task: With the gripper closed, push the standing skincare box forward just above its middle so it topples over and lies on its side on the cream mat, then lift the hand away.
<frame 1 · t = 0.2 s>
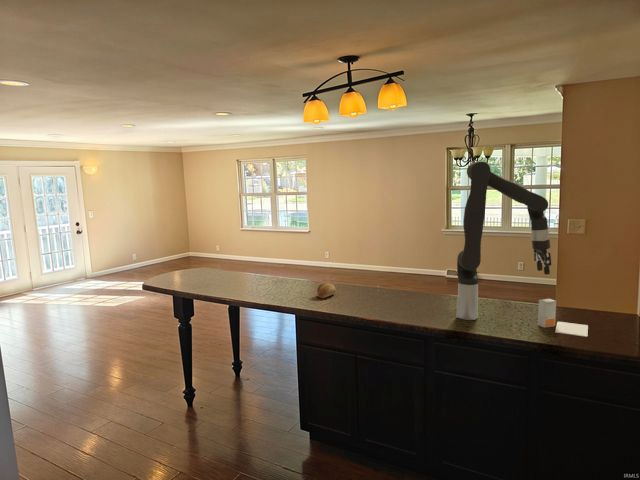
hand: (543, 272, 204), 22 cm above the countertop, tool pointing down, fingers open, 8 cm apart
bread roll: (326, 296, 257), on the countertop
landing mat: (571, 329, 190), on the countertop
skincare box: (546, 326, 196), on the countertop
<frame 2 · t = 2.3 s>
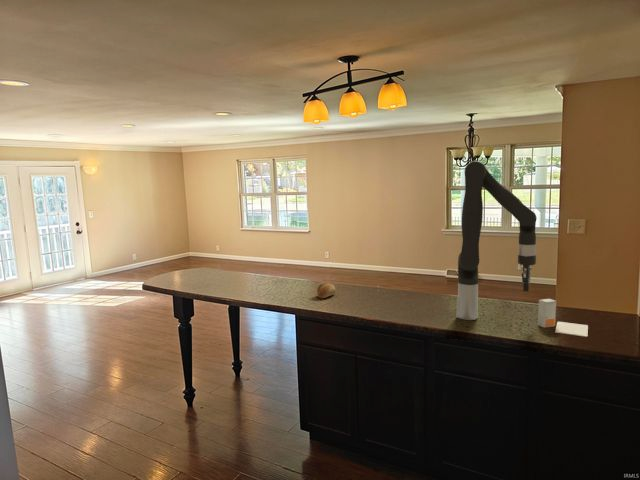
hand: (526, 290, 199), 15 cm above the countertop, tool pointing down, fingers closed
nothing on the countertop moved.
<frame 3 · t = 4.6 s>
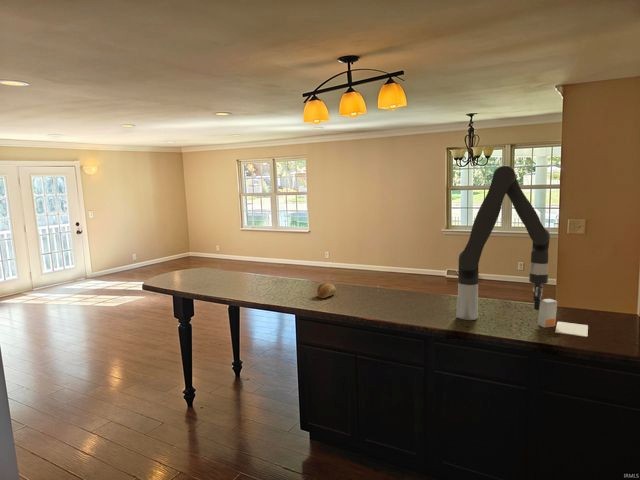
hand: (536, 309, 197), 7 cm above the countertop, tool pointing down, fingers closed
nothing on the countertop moved.
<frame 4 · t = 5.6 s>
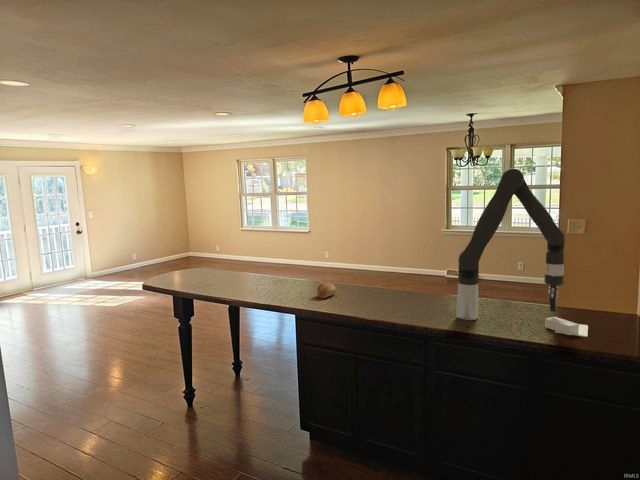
hand: (552, 311, 194), 7 cm above the countertop, tool pointing down, fingers closed
skincare box: (549, 321, 194), point 3 cm above the countertop, touching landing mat
everything else where it was.
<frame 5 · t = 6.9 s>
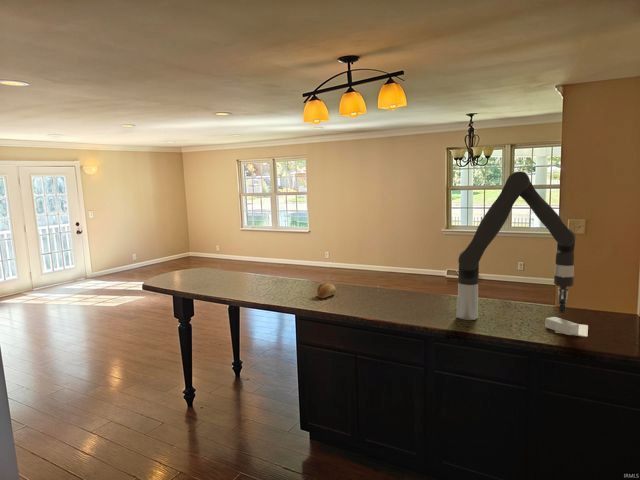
hand: (562, 312, 192), 7 cm above the countertop, tool pointing down, fingers closed
nothing on the countertop moved.
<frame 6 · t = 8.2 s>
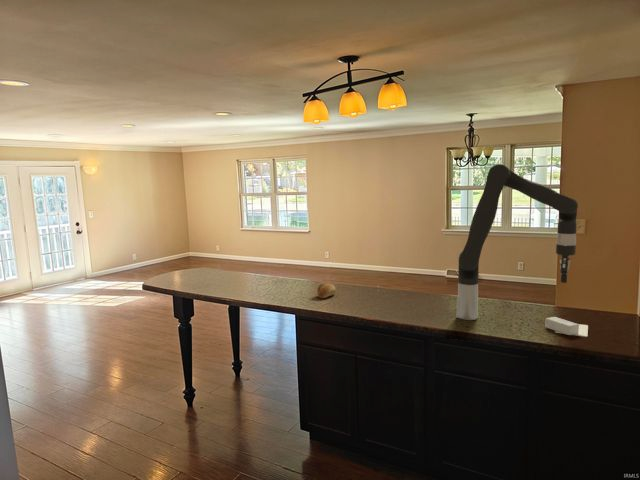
hand: (563, 282, 190), 21 cm above the countertop, tool pointing down, fingers closed
nothing on the countertop moved.
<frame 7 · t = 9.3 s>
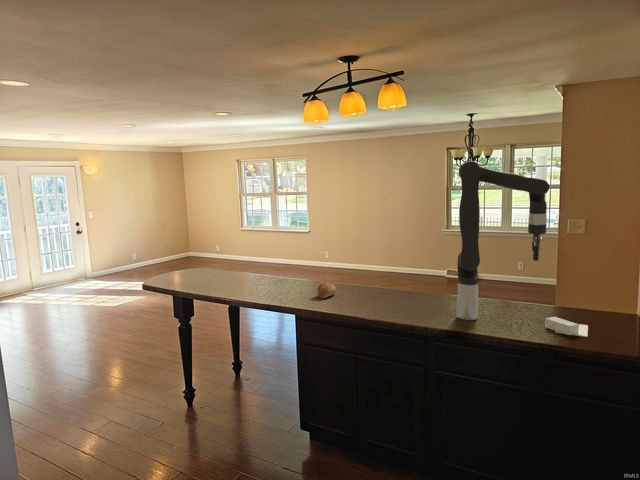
hand: (535, 260, 200), 29 cm above the countertop, tool pointing down, fingers closed
nothing on the countertop moved.
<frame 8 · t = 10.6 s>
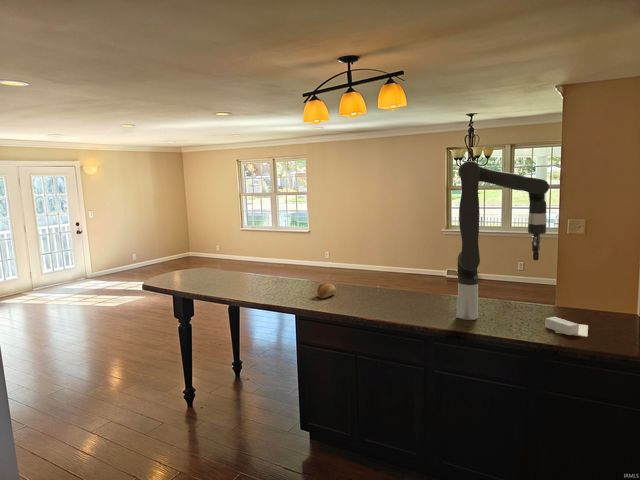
hand: (535, 260, 200), 29 cm above the countertop, tool pointing down, fingers closed
nothing on the countertop moved.
at the end: skincare box tilted 90°; skincare box inside the target area (3.9 cm from its centre), point 2.5 cm above the countertop; skincare box touching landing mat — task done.
